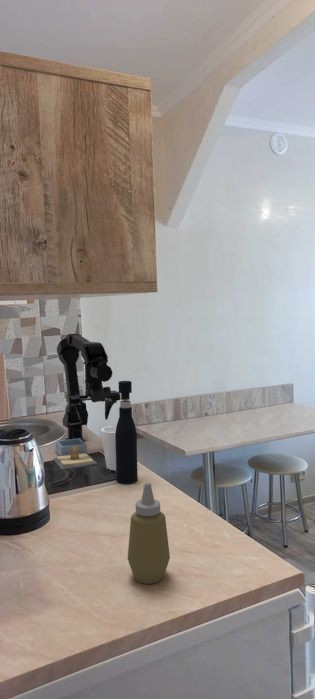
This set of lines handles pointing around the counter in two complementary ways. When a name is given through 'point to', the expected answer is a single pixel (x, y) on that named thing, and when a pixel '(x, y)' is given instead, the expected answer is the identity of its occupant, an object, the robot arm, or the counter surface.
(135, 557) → the squeeze bottle
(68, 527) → the counter surface
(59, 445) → the dish
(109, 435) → the foam cup
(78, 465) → the mat
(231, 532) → the counter surface
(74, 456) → the lid
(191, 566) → the counter surface
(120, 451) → the black bottle
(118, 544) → the counter surface
